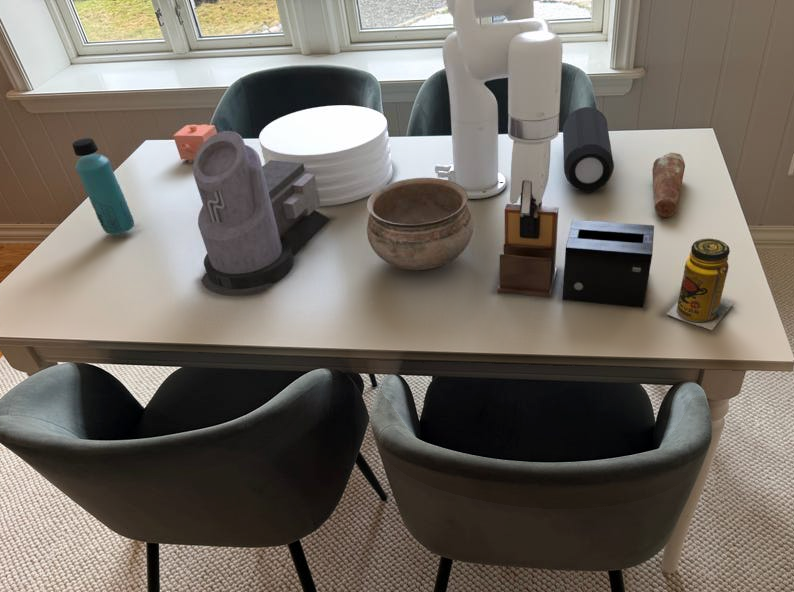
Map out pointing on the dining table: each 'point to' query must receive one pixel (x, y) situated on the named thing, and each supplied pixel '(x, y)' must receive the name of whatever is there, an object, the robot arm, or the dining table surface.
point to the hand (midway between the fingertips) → (530, 232)
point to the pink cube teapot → (192, 139)
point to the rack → (527, 270)
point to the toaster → (608, 263)
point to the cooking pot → (419, 222)
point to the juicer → (251, 215)
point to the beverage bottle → (102, 188)
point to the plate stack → (334, 149)
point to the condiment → (703, 285)
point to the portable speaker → (587, 150)
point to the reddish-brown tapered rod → (667, 183)
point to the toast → (546, 228)
